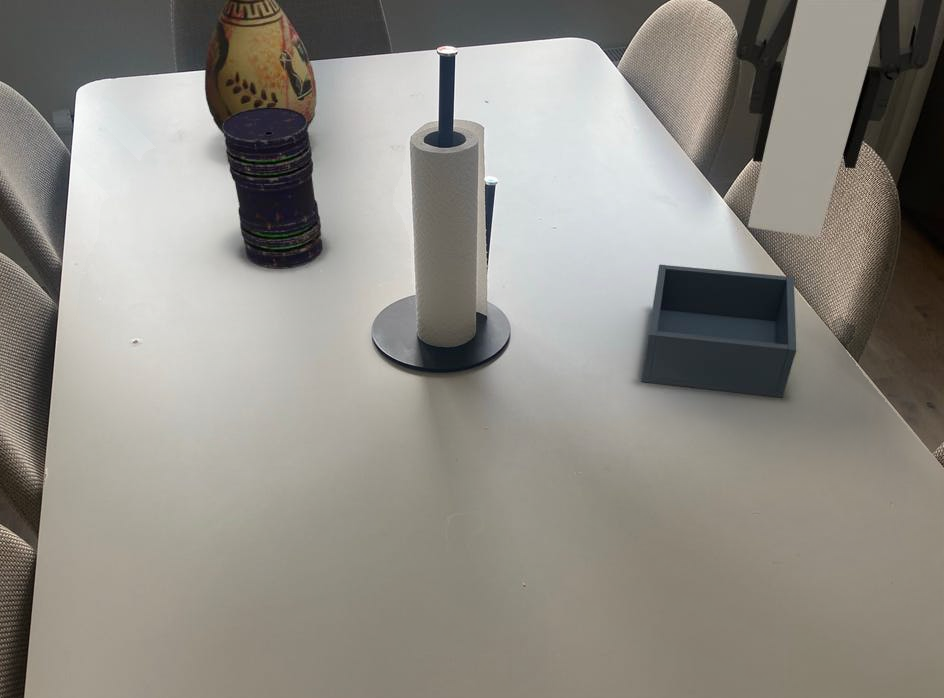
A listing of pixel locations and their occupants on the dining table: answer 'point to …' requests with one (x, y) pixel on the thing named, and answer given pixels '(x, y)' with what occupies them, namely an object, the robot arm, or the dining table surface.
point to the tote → (721, 331)
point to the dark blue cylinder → (274, 186)
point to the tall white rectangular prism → (814, 112)
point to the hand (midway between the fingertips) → (802, 157)
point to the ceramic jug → (257, 63)
